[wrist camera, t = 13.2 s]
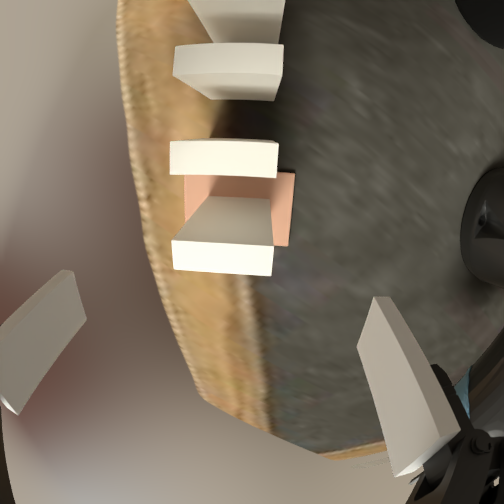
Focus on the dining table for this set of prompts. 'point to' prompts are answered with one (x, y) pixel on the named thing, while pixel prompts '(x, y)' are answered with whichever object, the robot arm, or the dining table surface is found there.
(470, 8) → the coffee jar
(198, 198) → the mat
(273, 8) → the domino
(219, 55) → the domino
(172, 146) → the domino
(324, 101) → the dining table surface
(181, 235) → the domino
